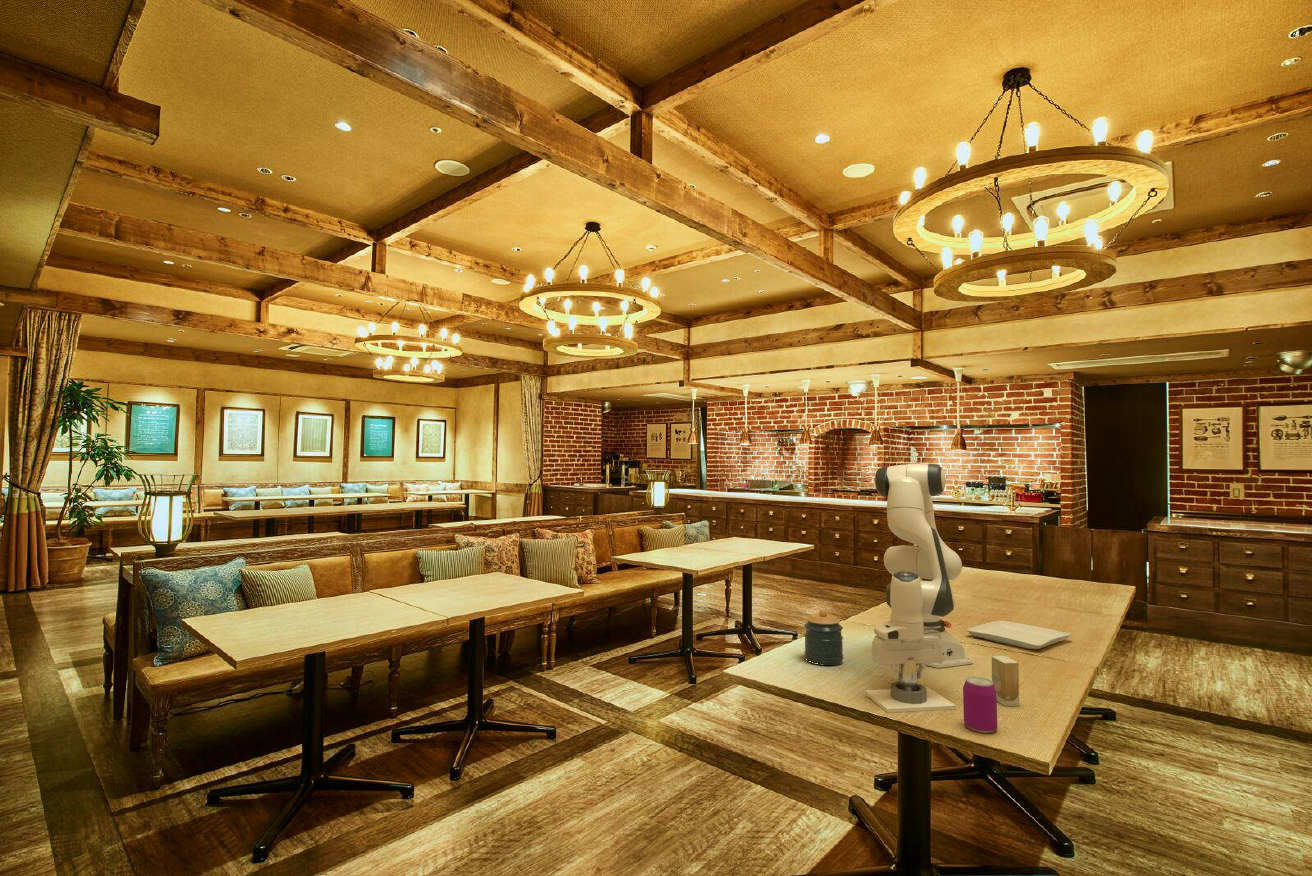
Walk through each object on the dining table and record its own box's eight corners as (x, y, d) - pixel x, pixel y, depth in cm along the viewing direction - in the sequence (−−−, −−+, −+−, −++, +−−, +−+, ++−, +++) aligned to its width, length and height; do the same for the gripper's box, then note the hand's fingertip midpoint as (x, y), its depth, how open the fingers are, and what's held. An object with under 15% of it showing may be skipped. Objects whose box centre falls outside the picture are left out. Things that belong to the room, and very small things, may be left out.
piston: (911, 689, 177) (911, 652, 177) (920, 695, 172) (920, 657, 173) (896, 690, 176) (895, 653, 177) (904, 696, 172) (904, 658, 172)
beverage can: (993, 737, 151) (992, 688, 151) (960, 728, 156) (958, 681, 157) (1001, 727, 157) (999, 680, 157) (968, 719, 162) (967, 673, 162)
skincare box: (991, 698, 176) (990, 655, 177) (1005, 697, 177) (1004, 655, 177) (1005, 707, 170) (1004, 662, 170) (1020, 706, 170) (1019, 662, 171)
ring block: (927, 690, 182) (927, 677, 182) (956, 709, 168) (955, 694, 169) (864, 693, 180) (864, 680, 180) (887, 712, 166) (887, 697, 166)
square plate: (1072, 643, 233) (1072, 632, 233) (1039, 655, 217) (1039, 644, 218) (1000, 627, 255) (999, 618, 255) (965, 638, 240) (964, 628, 240)
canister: (800, 663, 208) (799, 611, 209) (809, 653, 220) (808, 603, 220) (839, 669, 202) (838, 615, 203) (846, 658, 213) (845, 607, 214)
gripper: (934, 625, 179) (935, 673, 179) (868, 628, 177) (869, 676, 177) (947, 631, 173) (948, 681, 173) (878, 634, 171) (879, 684, 170)
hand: (908, 678), depth 175 cm, fingers closed on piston, 5 cm apart
